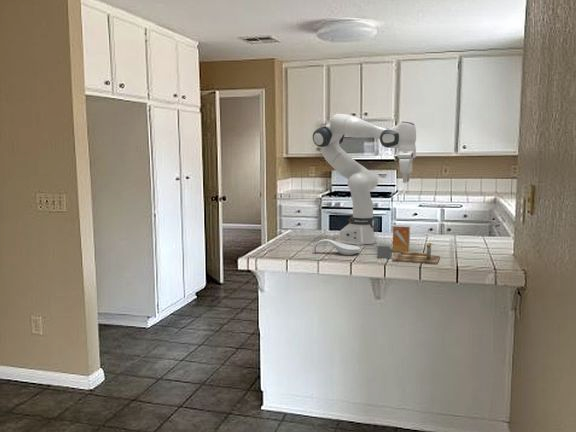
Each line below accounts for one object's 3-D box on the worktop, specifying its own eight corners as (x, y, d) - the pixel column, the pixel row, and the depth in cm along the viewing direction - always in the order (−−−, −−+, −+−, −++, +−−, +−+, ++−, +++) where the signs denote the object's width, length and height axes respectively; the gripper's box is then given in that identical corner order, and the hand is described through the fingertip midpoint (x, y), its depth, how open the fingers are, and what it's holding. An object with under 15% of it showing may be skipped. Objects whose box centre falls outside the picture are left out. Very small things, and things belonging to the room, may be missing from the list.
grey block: (377, 258, 248) (377, 245, 247) (379, 256, 252) (379, 244, 251) (390, 259, 245) (390, 246, 245) (392, 257, 250) (392, 244, 249)
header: (392, 261, 240) (392, 244, 239) (397, 255, 254) (397, 239, 253) (437, 264, 233) (437, 247, 232) (439, 257, 247) (440, 241, 246)
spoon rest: (360, 252, 263) (360, 238, 262) (360, 257, 251) (360, 242, 251) (314, 251, 267) (314, 237, 266) (311, 255, 255) (311, 241, 254)
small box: (392, 251, 263) (392, 226, 261) (393, 249, 269) (394, 224, 267) (408, 252, 260) (409, 226, 259) (409, 250, 266) (410, 225, 265)
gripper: (402, 154, 270) (402, 181, 272) (397, 154, 251) (397, 183, 253) (415, 154, 268) (414, 181, 270) (410, 154, 249) (410, 183, 251)
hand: (406, 182), depth 261 cm, fingers open, 8 cm apart
